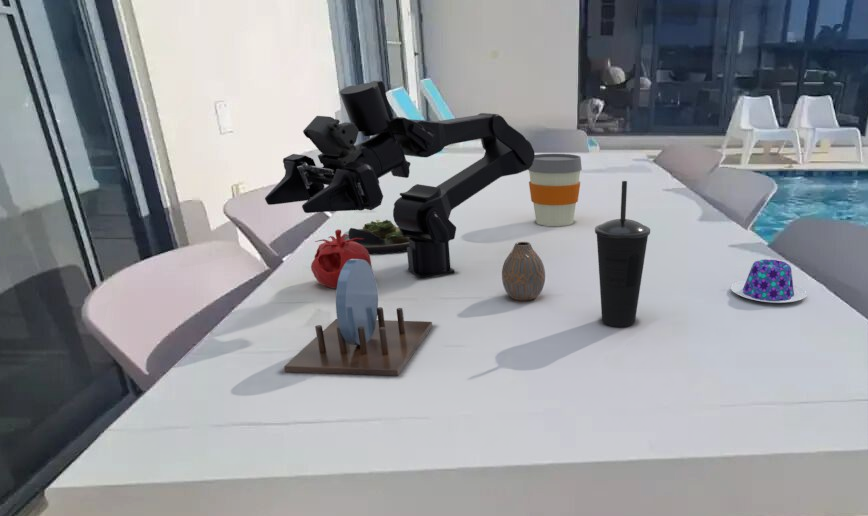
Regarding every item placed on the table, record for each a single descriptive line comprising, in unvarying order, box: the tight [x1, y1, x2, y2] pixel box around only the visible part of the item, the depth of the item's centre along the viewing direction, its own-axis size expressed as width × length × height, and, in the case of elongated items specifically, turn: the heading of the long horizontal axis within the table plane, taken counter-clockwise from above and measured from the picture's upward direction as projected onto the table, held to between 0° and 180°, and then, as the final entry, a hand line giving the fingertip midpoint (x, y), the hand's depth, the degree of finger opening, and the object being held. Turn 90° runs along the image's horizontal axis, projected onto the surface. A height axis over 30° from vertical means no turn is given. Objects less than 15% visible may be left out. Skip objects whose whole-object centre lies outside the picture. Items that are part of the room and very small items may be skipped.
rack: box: [283, 306, 433, 376], centre depth 83 cm, size 16×14×4 cm
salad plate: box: [343, 219, 409, 255], centre depth 134 cm, size 19×18×5 cm
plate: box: [335, 259, 379, 345], centre depth 82 cm, size 11×1×11 cm, turn 176°
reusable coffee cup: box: [527, 153, 582, 227], centre depth 150 cm, size 13×12×15 cm
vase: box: [501, 241, 546, 302], centre depth 101 cm, size 7×7×9 cm
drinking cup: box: [594, 180, 651, 328], centre depth 89 cm, size 8×8×20 cm
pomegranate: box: [310, 228, 373, 289], centre depth 107 cm, size 10×10×9 cm
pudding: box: [730, 259, 808, 304], centre depth 104 cm, size 12×12×5 cm
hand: (284, 205), depth 90 cm, fingers open, 9 cm apart
